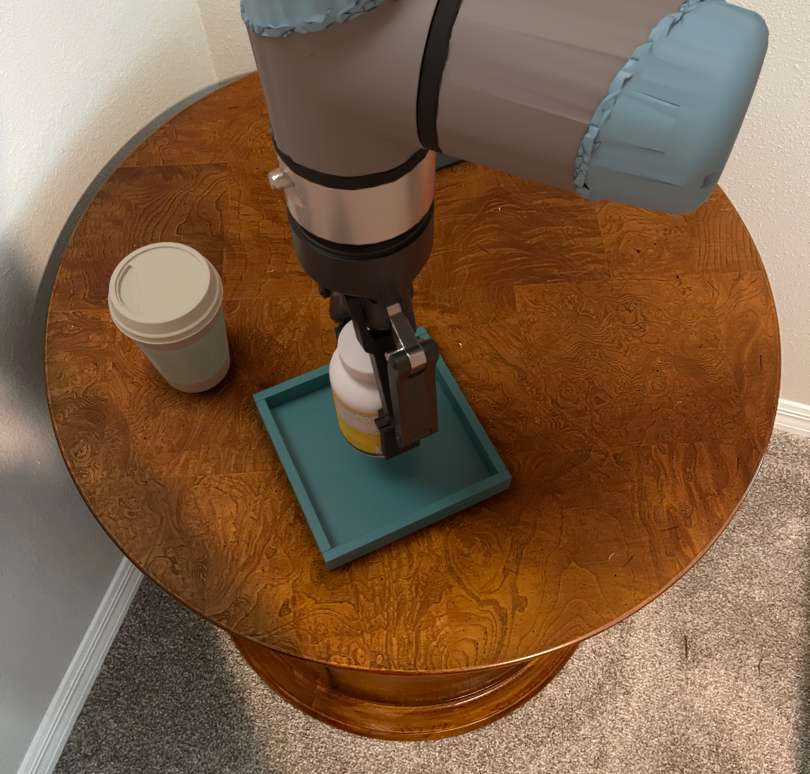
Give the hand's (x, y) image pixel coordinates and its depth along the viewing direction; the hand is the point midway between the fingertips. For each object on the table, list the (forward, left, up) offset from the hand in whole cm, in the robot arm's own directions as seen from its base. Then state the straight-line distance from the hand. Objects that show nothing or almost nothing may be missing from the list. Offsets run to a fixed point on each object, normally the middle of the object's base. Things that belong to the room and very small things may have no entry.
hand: (380, 409), depth 61 cm
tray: (0, 0, -7) cm, 7 cm away
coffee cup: (+14, +11, -7) cm, 19 cm away
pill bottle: (0, 0, -2) cm, 2 cm away
